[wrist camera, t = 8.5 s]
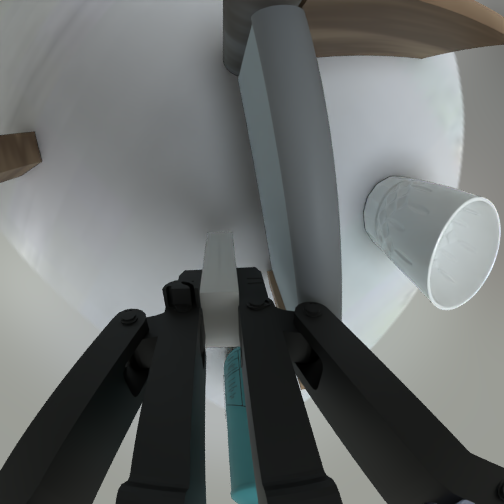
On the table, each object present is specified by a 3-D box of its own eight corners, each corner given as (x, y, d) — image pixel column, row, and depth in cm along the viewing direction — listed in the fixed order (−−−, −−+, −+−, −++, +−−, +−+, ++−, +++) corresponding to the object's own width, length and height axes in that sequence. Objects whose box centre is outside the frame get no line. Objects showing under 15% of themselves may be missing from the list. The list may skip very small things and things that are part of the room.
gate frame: (14, 147, 16) (-101, 182, 3) (414, 37, 15) (528, 11, 2) (22, 175, 17) (-93, 227, 4) (423, 65, 16) (544, 53, 4)
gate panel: (232, 80, 16) (243, 7, 5) (266, 75, 16) (320, 5, 5) (269, 283, 22) (303, 397, 12) (297, 277, 22) (348, 384, 12)
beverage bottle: (229, 377, 28) (243, 550, 10) (215, 334, 25) (221, 550, 7) (287, 367, 28) (332, 536, 10) (281, 322, 26) (343, 532, 7)
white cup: (371, 266, 24) (431, 330, 15) (343, 193, 21) (418, 235, 12) (430, 227, 23) (499, 271, 14) (412, 155, 20) (497, 177, 11)
